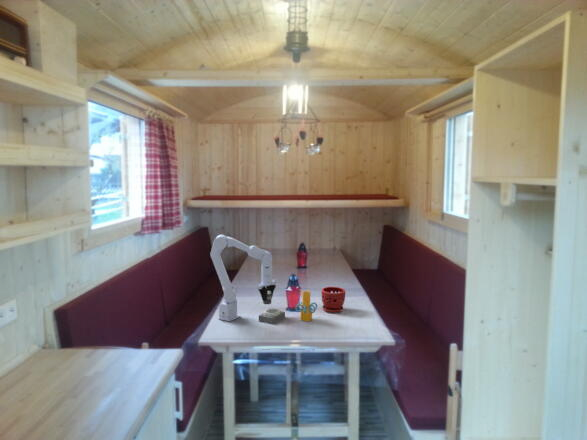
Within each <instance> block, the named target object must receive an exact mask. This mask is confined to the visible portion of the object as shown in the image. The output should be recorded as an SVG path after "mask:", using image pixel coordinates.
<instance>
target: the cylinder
mask: <svg viewBox="0 0 587 440" xmlns="http://www.w3.org/2000/svg"><path fill="white" fill-rule="evenodd" d="M301 293H302V296H301V297H302V300H301V301H299V302H298V303H297V304H296V306H295V308H294V309H295V311H296V312H297V313H300V320H301V321H303V322H311V321H312V320H313V313H315V312H316V310H317V308H318V304H317V303H316V302H315V301H314V302H311V291H310V290H307V289H305V290H302V292H301ZM298 309H299V310H298Z"/></svg>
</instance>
